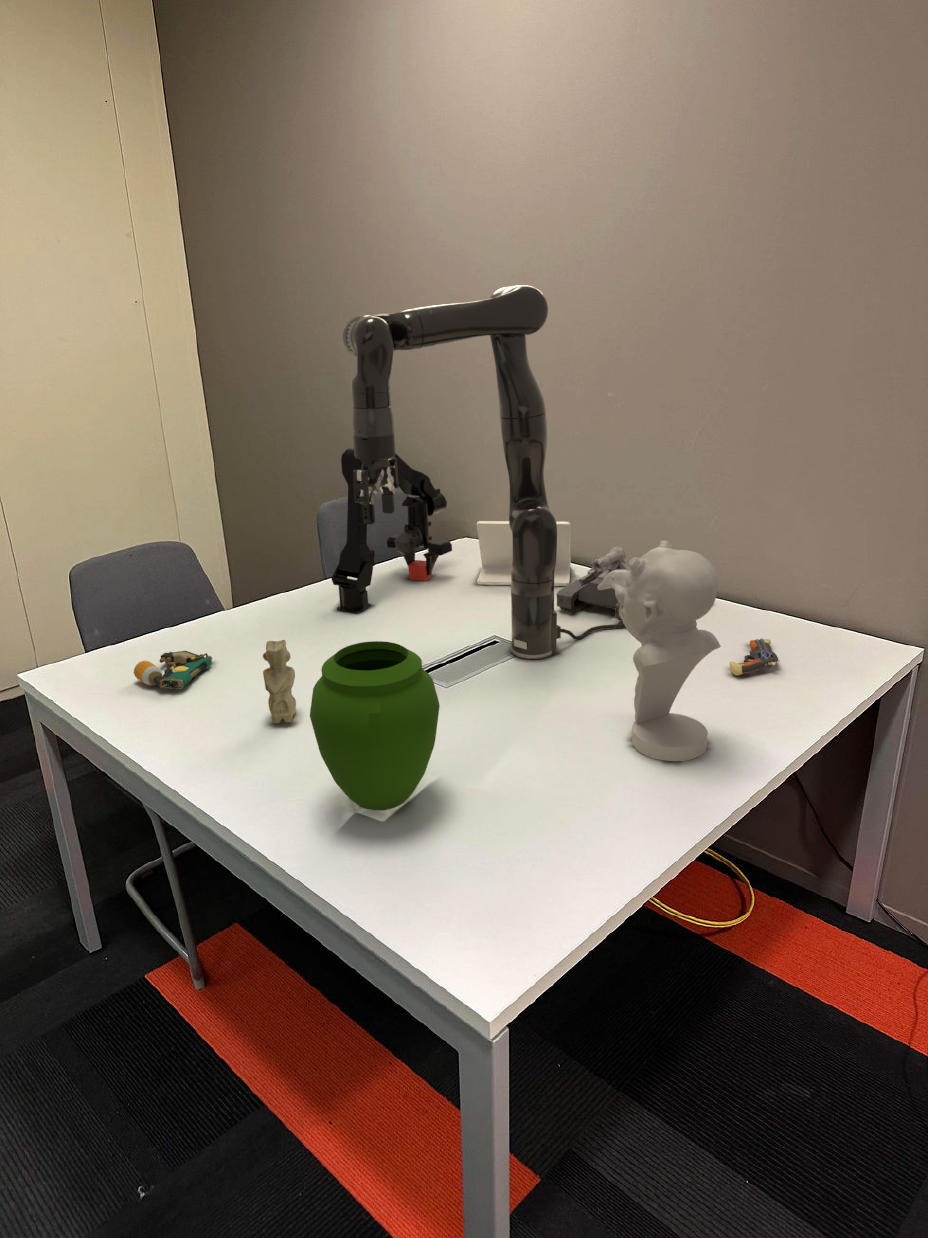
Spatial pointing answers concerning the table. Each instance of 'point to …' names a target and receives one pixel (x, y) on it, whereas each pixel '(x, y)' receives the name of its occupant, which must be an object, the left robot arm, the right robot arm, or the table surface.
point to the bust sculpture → (666, 643)
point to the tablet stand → (500, 553)
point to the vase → (375, 722)
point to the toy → (594, 585)
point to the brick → (418, 570)
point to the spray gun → (172, 669)
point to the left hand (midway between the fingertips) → (420, 573)
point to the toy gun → (756, 658)
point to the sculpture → (279, 681)
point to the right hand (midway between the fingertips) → (379, 518)
